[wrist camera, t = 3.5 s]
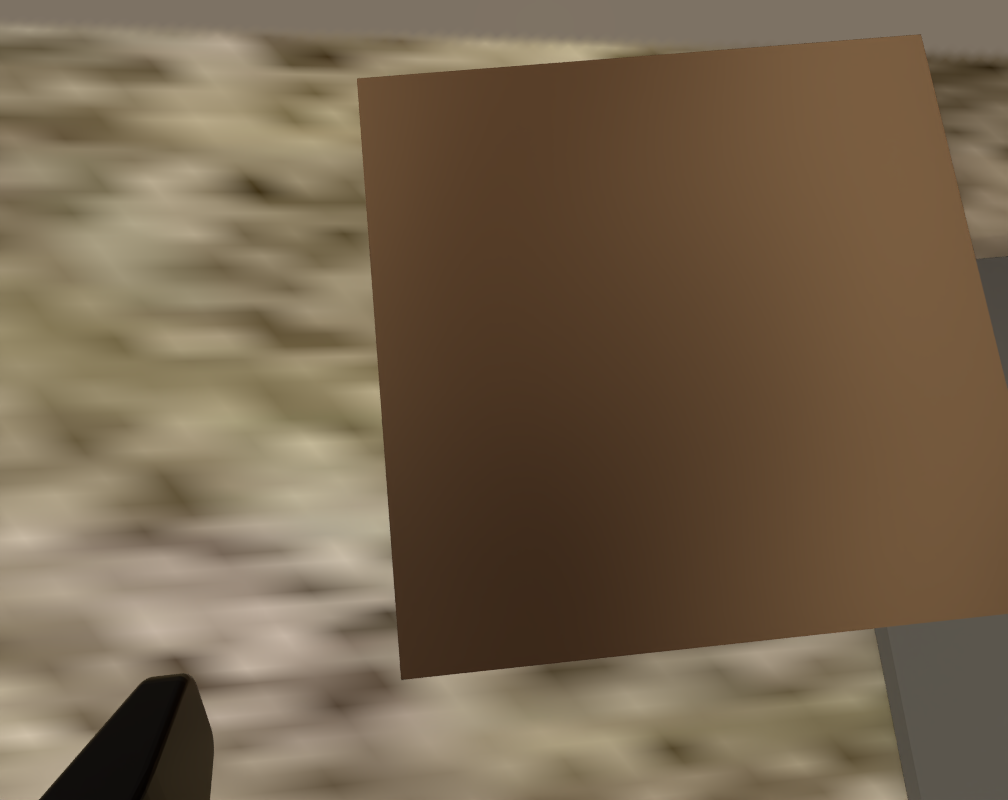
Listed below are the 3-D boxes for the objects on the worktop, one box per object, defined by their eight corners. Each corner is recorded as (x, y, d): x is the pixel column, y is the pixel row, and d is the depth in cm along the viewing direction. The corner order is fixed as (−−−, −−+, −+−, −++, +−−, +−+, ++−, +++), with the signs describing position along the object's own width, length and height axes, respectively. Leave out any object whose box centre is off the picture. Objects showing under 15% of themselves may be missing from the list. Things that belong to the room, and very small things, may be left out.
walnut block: (663, 385, 20) (920, 34, 8) (700, 624, 19) (1060, 608, 7) (431, 408, 20) (356, 78, 8) (452, 650, 18) (400, 679, 7)
